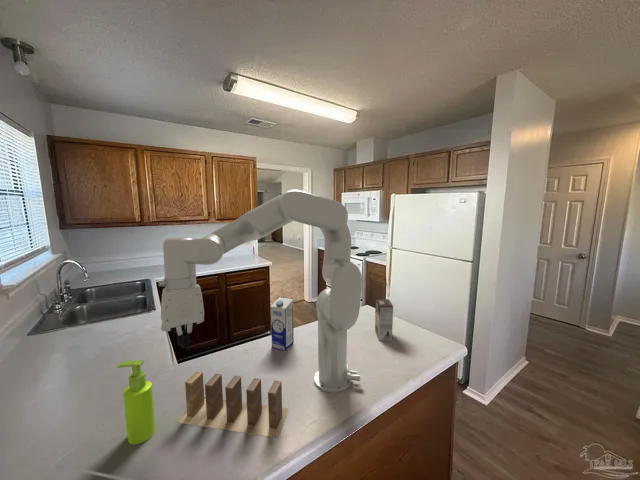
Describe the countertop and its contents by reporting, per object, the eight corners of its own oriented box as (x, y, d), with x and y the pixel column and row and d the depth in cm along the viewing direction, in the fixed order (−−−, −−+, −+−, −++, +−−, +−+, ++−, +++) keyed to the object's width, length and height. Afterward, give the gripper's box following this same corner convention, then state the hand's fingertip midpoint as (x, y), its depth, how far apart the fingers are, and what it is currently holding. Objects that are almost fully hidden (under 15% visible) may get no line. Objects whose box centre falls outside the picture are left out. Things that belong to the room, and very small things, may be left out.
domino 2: (223, 406, 77) (221, 374, 75) (213, 419, 72) (211, 385, 71) (216, 405, 77) (215, 373, 76) (206, 418, 72) (204, 384, 71)
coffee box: (374, 331, 125) (375, 298, 123) (387, 331, 125) (388, 298, 123) (378, 340, 116) (379, 305, 114) (392, 340, 116) (393, 305, 114)
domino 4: (261, 411, 74) (261, 378, 73) (254, 425, 70) (253, 390, 68) (255, 410, 75) (254, 378, 74) (247, 424, 70) (246, 389, 69)
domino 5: (282, 414, 73) (281, 381, 72) (276, 428, 69) (275, 393, 67) (275, 413, 74) (274, 380, 73) (268, 427, 69) (267, 392, 68)
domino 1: (204, 403, 78) (202, 372, 77) (193, 416, 73) (191, 383, 72) (198, 403, 78) (196, 371, 77) (187, 415, 73) (185, 382, 72)
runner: (289, 409, 76) (289, 408, 76) (278, 439, 66) (278, 437, 66) (199, 397, 81) (199, 396, 81) (176, 423, 71) (176, 422, 71)
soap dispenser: (132, 427, 70) (126, 356, 68) (159, 425, 70) (154, 355, 68) (117, 446, 64) (110, 369, 62) (147, 444, 64) (141, 368, 62)
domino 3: (242, 409, 76) (241, 376, 74) (233, 422, 71) (232, 388, 70) (235, 408, 76) (234, 375, 75) (226, 421, 71) (225, 387, 70)
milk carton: (294, 343, 114) (293, 299, 112) (285, 350, 108) (284, 304, 106) (280, 340, 117) (279, 296, 115) (271, 347, 111) (270, 301, 109)
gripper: (150, 290, 64) (155, 361, 66) (213, 280, 73) (216, 343, 75) (147, 284, 70) (151, 349, 72) (205, 275, 79) (208, 333, 81)
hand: (184, 346), depth 74 cm, fingers closed
